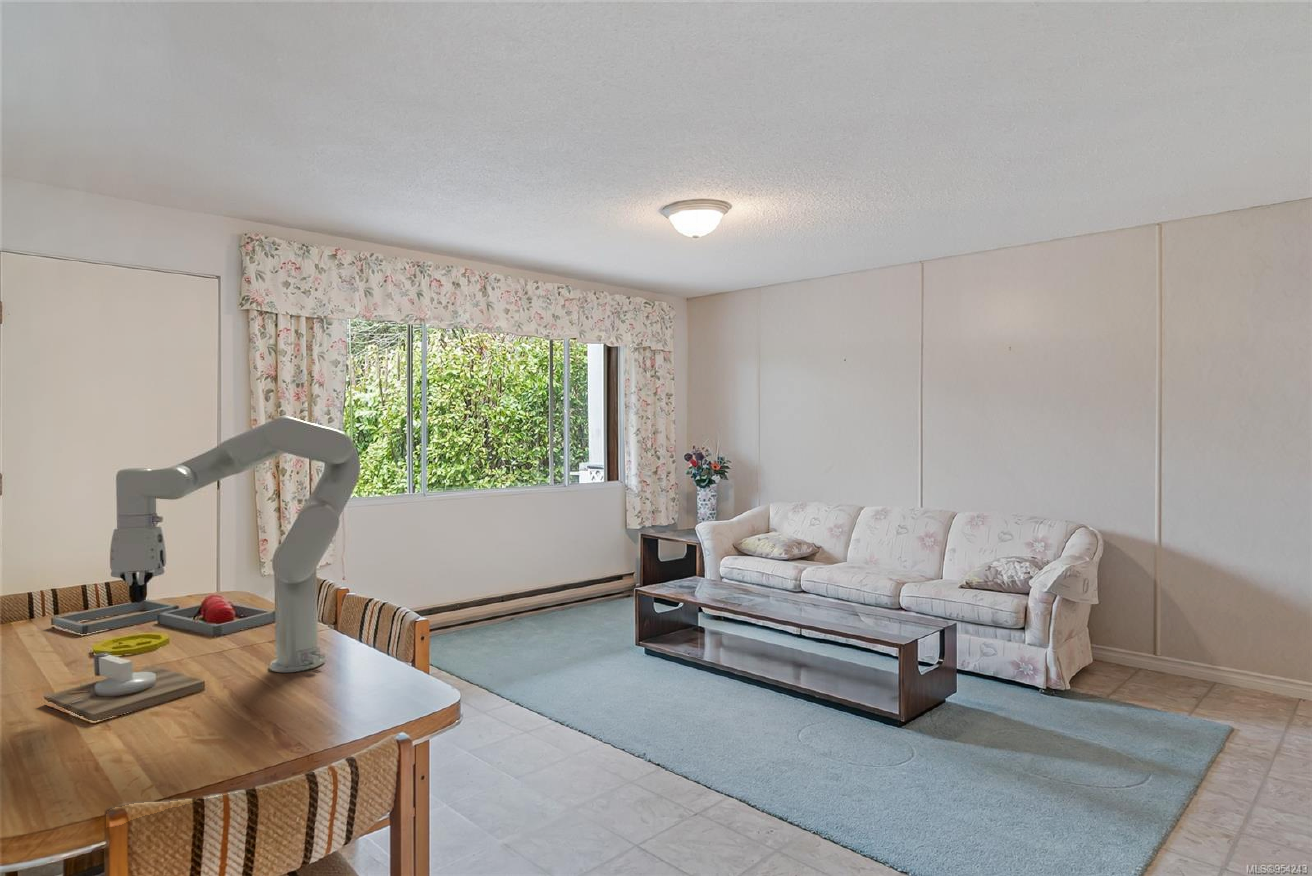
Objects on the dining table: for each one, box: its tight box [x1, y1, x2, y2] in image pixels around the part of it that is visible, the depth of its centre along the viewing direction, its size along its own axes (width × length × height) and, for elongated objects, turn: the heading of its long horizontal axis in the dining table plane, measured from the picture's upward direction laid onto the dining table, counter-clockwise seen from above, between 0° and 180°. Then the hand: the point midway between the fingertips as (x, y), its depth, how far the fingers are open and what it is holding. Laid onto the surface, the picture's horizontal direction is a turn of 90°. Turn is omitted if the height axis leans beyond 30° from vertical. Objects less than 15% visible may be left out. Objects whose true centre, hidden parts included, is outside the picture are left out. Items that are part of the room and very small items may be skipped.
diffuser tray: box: [50, 598, 180, 634], centre depth 232 cm, size 20×26×3 cm
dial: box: [93, 653, 156, 696], centre depth 168 cm, size 18×11×6 cm, turn 60°
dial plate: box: [43, 665, 206, 721], centre depth 166 cm, size 22×22×2 cm
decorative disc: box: [92, 631, 170, 655], centre depth 204 cm, size 17×18×2 cm
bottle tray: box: [157, 602, 275, 638], centre depth 229 cm, size 32×18×3 cm, turn 60°
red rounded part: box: [192, 594, 236, 624], centre depth 228 cm, size 12×8×25 cm
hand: (138, 601), depth 173 cm, fingers closed
